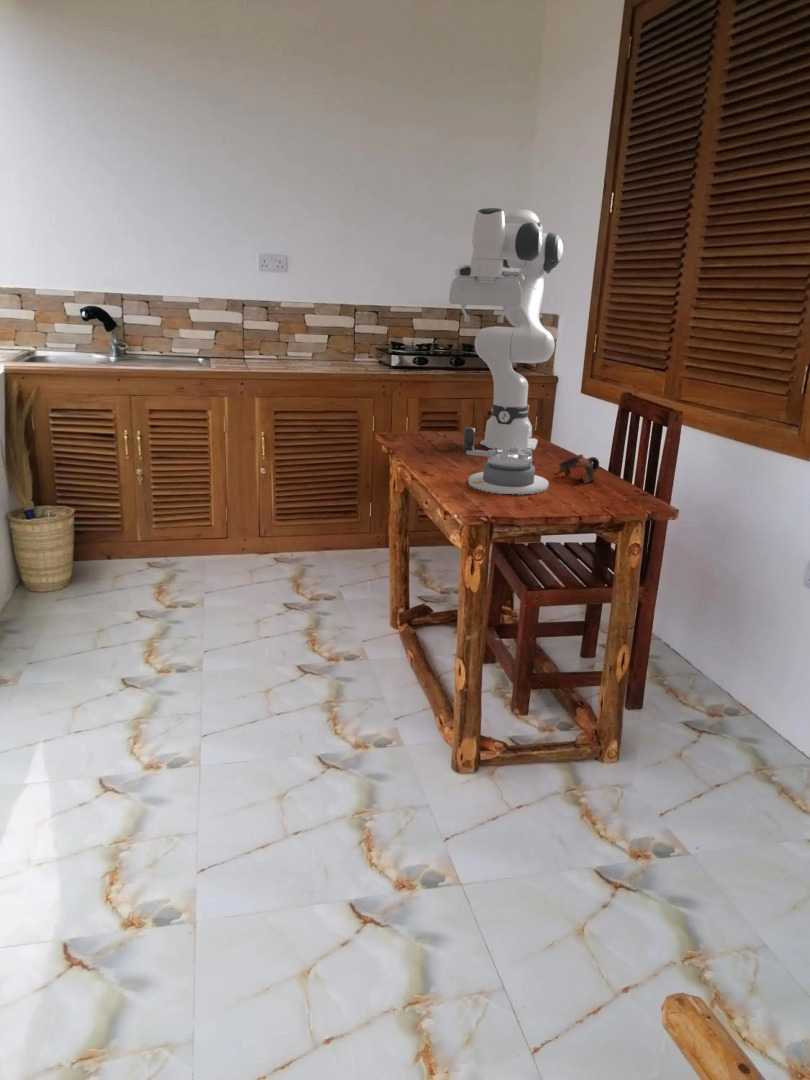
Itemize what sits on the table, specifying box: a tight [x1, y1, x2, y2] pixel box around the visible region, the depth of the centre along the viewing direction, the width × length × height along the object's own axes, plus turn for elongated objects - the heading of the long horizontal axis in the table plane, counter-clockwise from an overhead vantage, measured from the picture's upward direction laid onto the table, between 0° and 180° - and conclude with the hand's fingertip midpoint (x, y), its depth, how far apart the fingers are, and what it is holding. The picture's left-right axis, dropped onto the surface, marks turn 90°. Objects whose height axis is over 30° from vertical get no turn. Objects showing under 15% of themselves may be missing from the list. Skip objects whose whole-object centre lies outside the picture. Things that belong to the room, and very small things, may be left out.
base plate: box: [467, 461, 550, 496], centre depth 221 cm, size 22×22×5 cm
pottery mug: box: [558, 453, 600, 484], centre depth 231 cm, size 12×10×8 cm
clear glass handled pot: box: [462, 426, 533, 470], centre depth 220 cm, size 12×20×9 cm, turn 66°
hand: (483, 322), depth 227 cm, fingers open, 8 cm apart
